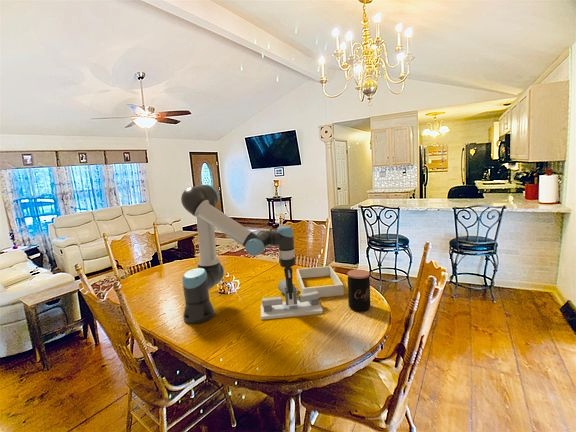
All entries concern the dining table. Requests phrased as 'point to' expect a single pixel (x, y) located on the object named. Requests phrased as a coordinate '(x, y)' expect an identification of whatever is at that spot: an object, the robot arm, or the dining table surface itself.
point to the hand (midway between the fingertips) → (290, 301)
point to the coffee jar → (359, 290)
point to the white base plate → (291, 306)
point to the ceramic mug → (284, 286)
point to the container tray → (322, 290)
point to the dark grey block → (293, 296)
